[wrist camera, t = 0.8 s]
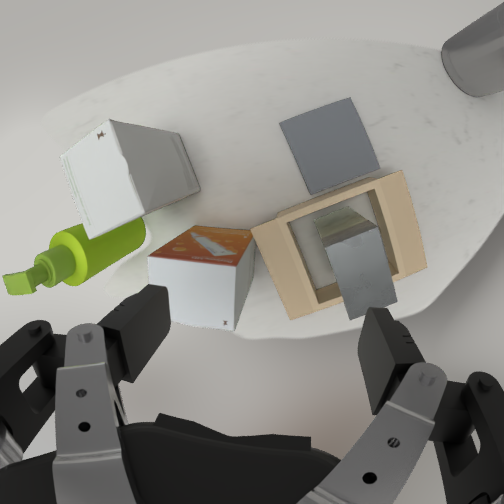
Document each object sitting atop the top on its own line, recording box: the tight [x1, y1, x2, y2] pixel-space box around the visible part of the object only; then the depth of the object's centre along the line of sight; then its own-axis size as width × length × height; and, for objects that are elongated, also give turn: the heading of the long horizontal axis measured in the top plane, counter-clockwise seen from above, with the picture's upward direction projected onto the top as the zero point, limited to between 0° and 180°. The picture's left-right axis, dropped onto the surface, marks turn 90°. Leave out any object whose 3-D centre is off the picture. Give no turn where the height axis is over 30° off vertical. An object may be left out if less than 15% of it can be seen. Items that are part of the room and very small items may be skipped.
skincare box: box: [60, 119, 200, 240], centre depth 26 cm, size 8×7×16 cm
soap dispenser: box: [3, 217, 146, 295], centre depth 27 cm, size 6×7×20 cm
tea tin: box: [314, 207, 397, 320], centre depth 28 cm, size 5×7×12 cm, turn 24°
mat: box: [279, 98, 380, 195], centre depth 30 cm, size 9×9×1 cm
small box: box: [147, 226, 256, 331], centre depth 30 cm, size 8×6×13 cm
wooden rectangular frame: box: [250, 170, 427, 320], centre depth 32 cm, size 18×12×4 cm, turn 114°
